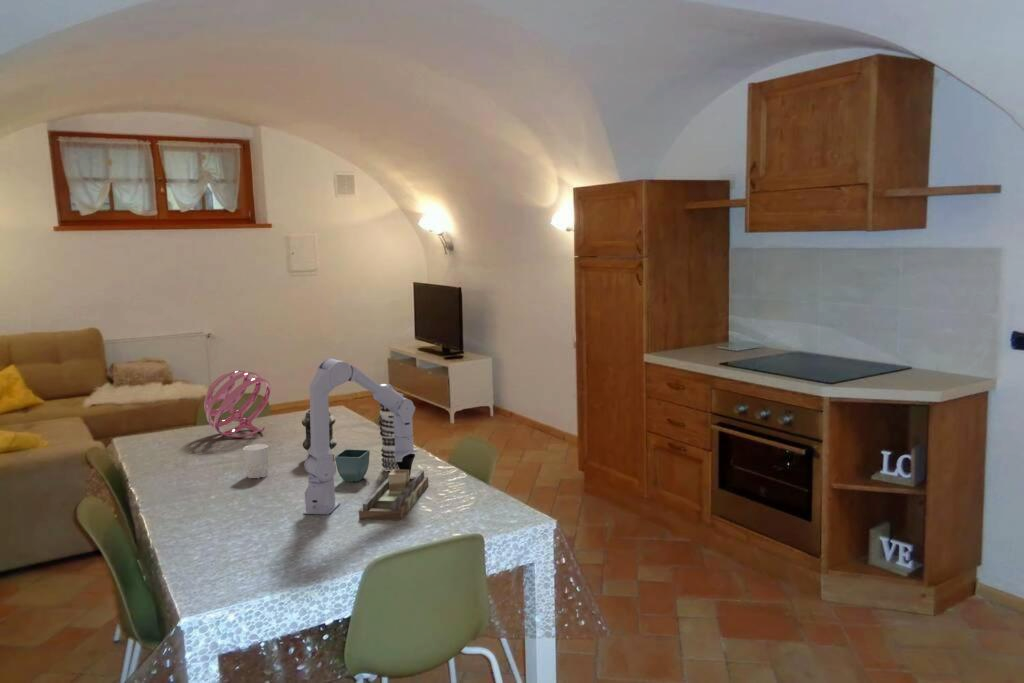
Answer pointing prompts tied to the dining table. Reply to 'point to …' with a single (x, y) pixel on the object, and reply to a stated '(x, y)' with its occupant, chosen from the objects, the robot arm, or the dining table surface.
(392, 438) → the black and white cylinder
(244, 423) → the pink slatted sphere
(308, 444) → the apothecary jar
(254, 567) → the dining table surface
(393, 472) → the maple block
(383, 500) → the trap box
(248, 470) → the white cup
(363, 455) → the flower pot
